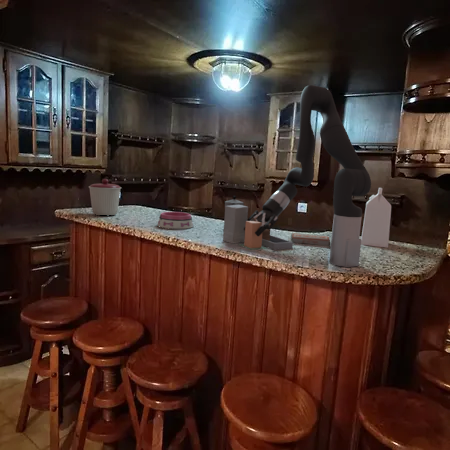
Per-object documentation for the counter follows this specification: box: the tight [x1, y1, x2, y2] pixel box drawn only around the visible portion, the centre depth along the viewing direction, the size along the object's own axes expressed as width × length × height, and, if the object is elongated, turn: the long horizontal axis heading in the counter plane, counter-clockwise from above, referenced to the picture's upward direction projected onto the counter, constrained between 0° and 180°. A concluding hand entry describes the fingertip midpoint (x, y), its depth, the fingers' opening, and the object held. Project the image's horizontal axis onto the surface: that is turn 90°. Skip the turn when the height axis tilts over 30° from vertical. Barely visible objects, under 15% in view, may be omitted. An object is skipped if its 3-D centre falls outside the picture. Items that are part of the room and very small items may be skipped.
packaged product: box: [287, 232, 331, 250], centre depth 163 cm, size 18×5×10 cm
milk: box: [360, 187, 392, 248], centre depth 172 cm, size 12×12×26 cm
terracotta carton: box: [243, 220, 262, 248], centre depth 149 cm, size 5×5×10 cm
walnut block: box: [257, 220, 271, 241], centre depth 162 cm, size 5×5×10 cm
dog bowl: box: [156, 211, 194, 230], centre depth 191 cm, size 18×19×7 cm
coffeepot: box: [222, 195, 245, 233], centre depth 183 cm, size 15×9×18 cm, turn 176°
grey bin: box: [261, 234, 294, 251], centre depth 157 cm, size 20×9×3 cm, turn 28°
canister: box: [88, 178, 122, 216], centre depth 215 cm, size 18×18×21 cm
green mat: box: [237, 243, 268, 251], centre depth 150 cm, size 10×8×1 cm
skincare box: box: [222, 205, 249, 244], centre depth 158 cm, size 8×7×16 cm
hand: (250, 232), depth 149 cm, fingers open, 8 cm apart
